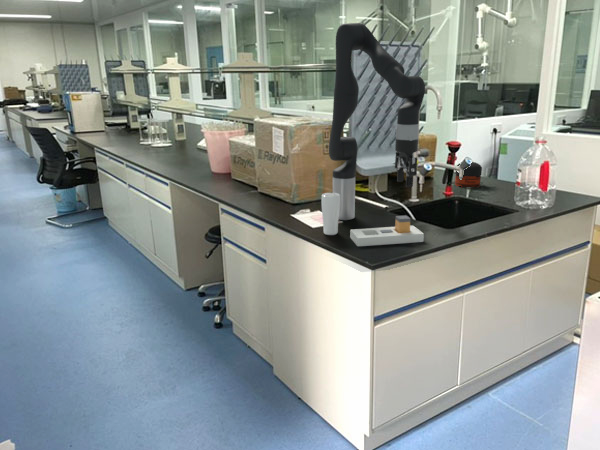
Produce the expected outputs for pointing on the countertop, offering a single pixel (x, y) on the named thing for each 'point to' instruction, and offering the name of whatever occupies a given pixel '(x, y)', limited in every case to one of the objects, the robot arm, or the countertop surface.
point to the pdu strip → (384, 236)
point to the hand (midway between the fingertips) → (404, 184)
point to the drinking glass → (330, 212)
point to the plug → (402, 224)
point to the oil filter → (470, 176)
